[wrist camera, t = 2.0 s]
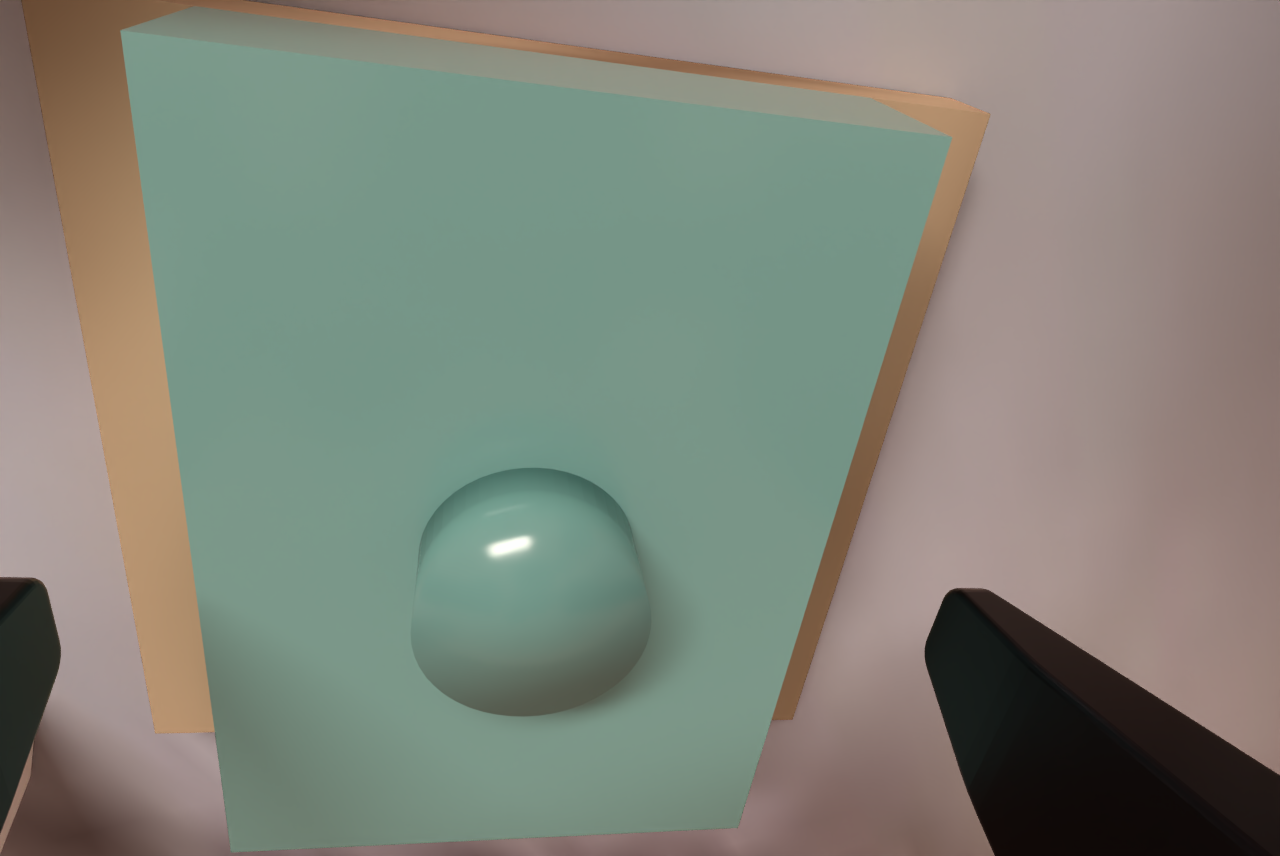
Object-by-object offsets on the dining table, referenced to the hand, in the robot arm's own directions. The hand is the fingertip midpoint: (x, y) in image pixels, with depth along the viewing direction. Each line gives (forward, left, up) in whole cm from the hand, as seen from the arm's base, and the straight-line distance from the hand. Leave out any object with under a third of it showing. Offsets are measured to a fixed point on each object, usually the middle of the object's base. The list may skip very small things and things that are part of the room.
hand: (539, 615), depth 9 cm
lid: (0, 0, -3) cm, 3 cm away
